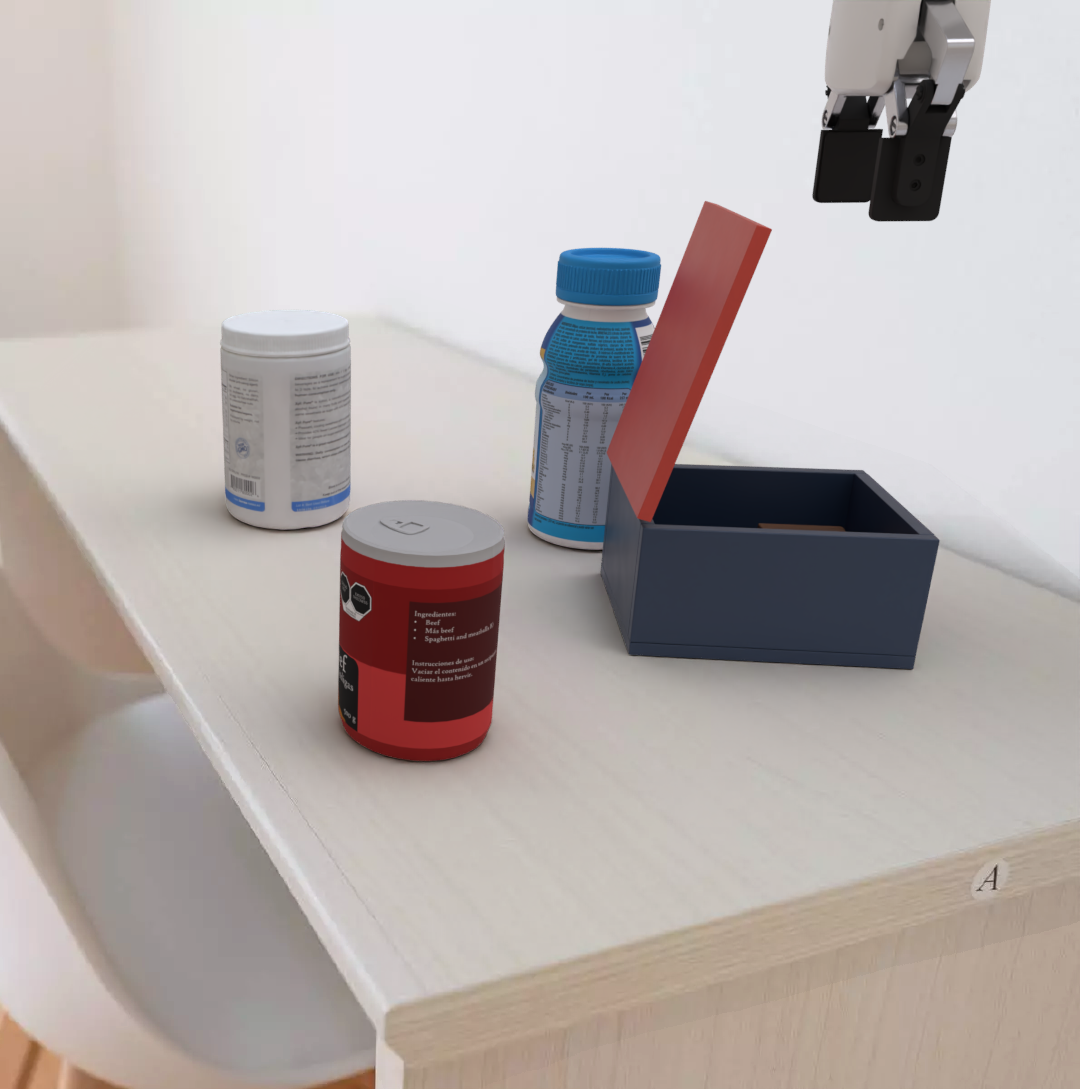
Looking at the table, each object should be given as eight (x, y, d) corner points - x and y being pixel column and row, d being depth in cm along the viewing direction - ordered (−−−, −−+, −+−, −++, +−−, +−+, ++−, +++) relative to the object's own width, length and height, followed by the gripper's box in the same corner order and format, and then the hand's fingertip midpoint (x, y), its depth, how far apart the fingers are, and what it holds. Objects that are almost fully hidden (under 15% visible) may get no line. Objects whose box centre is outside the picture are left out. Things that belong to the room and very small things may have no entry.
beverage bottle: (549, 557, 85) (574, 263, 78) (508, 516, 93) (527, 246, 86) (664, 549, 86) (699, 260, 79) (614, 510, 94) (641, 243, 87)
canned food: (368, 679, 68) (374, 490, 64) (510, 709, 65) (525, 512, 61) (312, 742, 62) (314, 537, 58) (466, 779, 58) (479, 565, 54)
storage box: (843, 583, 81) (863, 469, 78) (913, 669, 69) (940, 539, 66) (600, 572, 83) (611, 461, 80) (628, 655, 71) (642, 528, 68)
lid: (717, 204, 73) (704, 200, 73) (772, 229, 62) (757, 224, 62) (618, 456, 80) (606, 453, 80) (650, 522, 68) (636, 518, 68)
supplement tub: (349, 493, 98) (353, 308, 93) (350, 535, 89) (354, 333, 84) (228, 491, 99) (225, 307, 93) (217, 532, 90) (213, 332, 85)
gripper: (1093, -186, 52) (1014, 228, 58) (936, -124, 68) (887, 196, 74) (906, -178, 53) (847, 230, 59) (794, -119, 69) (757, 197, 75)
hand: (869, 210), depth 67 cm, fingers open, 9 cm apart
